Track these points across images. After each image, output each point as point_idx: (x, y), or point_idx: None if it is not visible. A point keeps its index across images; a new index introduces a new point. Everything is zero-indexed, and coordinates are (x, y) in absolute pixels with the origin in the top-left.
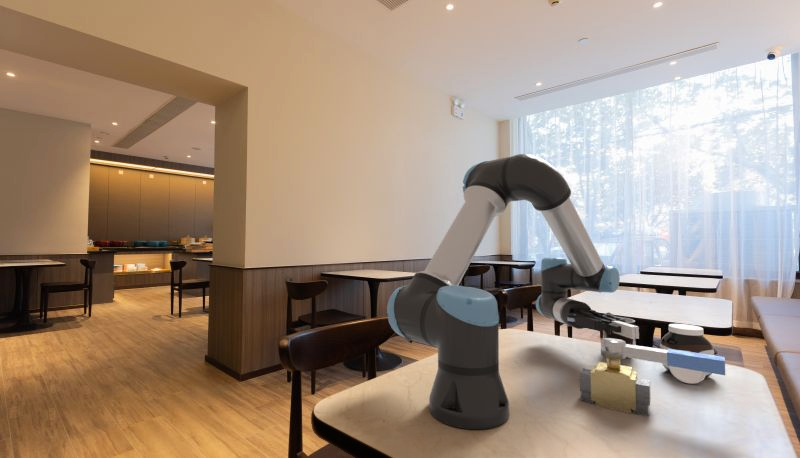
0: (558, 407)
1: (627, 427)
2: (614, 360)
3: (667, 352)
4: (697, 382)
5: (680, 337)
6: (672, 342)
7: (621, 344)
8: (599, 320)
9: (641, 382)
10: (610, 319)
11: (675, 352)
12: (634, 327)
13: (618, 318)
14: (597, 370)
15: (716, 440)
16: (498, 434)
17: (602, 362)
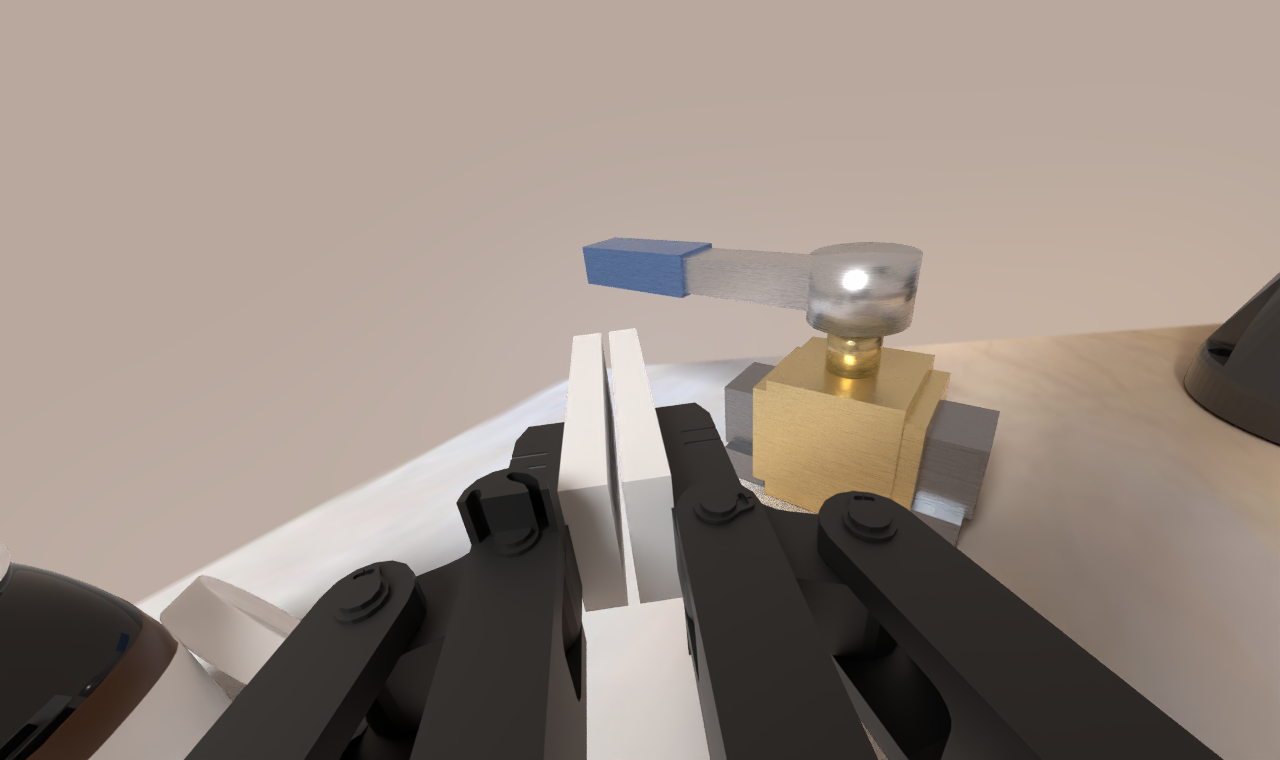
0: (1050, 453)
1: None
2: None
3: (710, 243)
4: None
5: (30, 602)
6: (91, 662)
7: (837, 247)
8: (865, 502)
9: (764, 376)
10: (551, 670)
11: (685, 245)
12: (612, 335)
13: (531, 474)
14: (923, 354)
15: (677, 379)
16: (1163, 357)
17: (889, 406)
